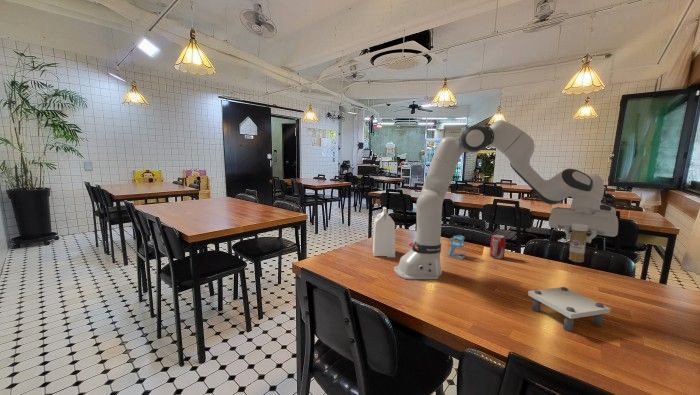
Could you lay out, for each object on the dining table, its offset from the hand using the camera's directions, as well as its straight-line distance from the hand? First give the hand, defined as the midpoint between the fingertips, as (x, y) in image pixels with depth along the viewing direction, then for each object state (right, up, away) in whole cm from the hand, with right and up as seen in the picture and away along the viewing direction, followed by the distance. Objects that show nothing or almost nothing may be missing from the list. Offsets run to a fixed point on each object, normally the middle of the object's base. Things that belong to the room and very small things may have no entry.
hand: (578, 240), depth 105 cm
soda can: (-2, -18, +55) cm, 57 cm away
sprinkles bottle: (0, -8, +2) cm, 8 cm away
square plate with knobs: (-9, -26, -5) cm, 28 cm away
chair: (-24, -17, +55) cm, 63 cm away
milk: (-64, -16, +59) cm, 88 cm away
